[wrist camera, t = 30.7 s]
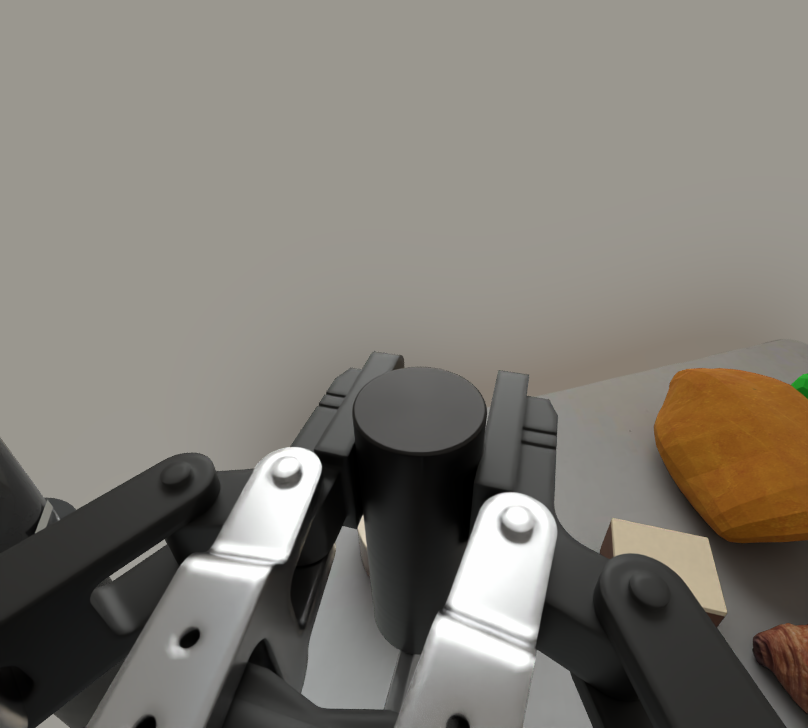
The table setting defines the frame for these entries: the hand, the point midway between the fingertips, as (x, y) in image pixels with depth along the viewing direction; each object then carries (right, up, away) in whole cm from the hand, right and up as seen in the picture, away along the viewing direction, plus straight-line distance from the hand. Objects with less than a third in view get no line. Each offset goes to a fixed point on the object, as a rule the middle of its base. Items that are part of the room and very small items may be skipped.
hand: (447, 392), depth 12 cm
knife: (-1, -13, +6) cm, 14 cm away
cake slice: (+18, -18, +26) cm, 36 cm away
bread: (+30, -11, +35) cm, 47 cm away
